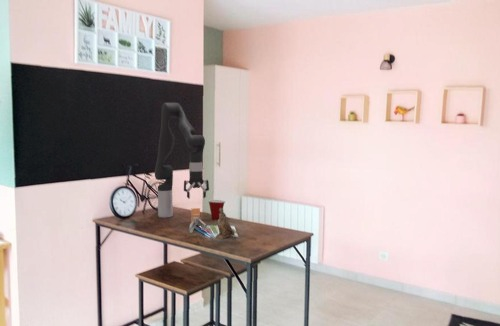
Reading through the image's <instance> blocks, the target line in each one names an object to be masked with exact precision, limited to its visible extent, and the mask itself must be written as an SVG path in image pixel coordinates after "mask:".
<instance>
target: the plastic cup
mask: <svg viewBox="0 0 500 326" xmlns="http://www.w3.org/2000/svg"><path fill="white" fill-rule="evenodd" d="M225 203H226V200H222V199H208V204H209V210H210V211H209V212H210V215H211V220H214V221H218V219H219V213H220V211H219V209H220V208H222V209H223V210H224V205H225Z"/></svg>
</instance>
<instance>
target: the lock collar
mask: <svg viewBox="0 0 500 326" xmlns="http://www.w3.org/2000/svg"><path fill="white" fill-rule="evenodd" d="M190 212H191V213H190V214H191V216H190V217H191V218H190V219H191V220H190V221H191V222H192V220H193V216H198V218H199V219H200V220H201V208H200V207H197V208H196V207H193V208H191V210H190Z"/></svg>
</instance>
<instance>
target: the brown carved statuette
mask: <svg viewBox="0 0 500 326" xmlns="http://www.w3.org/2000/svg"><path fill="white" fill-rule="evenodd" d="M219 211H220V213H219V219H218V220H217V228H218V232H219V233H218V234H216V236H215V239H220V240H224V239H227V238H230V237H232V236H235V231H234V229H233V228H232V227H231V224H230V223H229V221H228V219H227V214H226V213H225V212H224V208H223V209H222V208H220V209H219Z"/></svg>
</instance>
